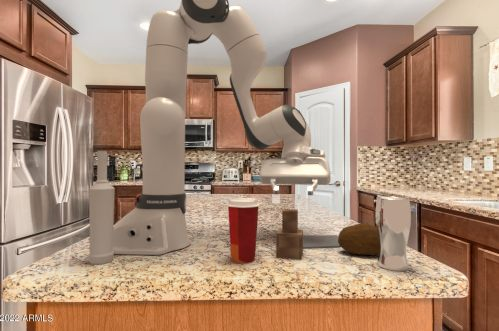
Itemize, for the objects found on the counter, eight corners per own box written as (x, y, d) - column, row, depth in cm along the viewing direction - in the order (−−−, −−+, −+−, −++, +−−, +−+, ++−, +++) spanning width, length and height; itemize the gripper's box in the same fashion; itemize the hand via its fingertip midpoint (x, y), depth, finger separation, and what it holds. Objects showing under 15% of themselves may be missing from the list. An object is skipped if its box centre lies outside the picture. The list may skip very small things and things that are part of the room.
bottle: (94, 257, 69) (95, 151, 69) (117, 257, 69) (118, 151, 69) (84, 265, 63) (85, 150, 64) (109, 264, 64) (110, 150, 64)
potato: (335, 248, 78) (335, 219, 78) (383, 250, 77) (383, 220, 77) (341, 257, 70) (341, 225, 70) (395, 259, 69) (395, 227, 69)
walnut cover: (276, 257, 70) (276, 211, 70) (279, 250, 75) (279, 208, 76) (301, 259, 68) (301, 212, 68) (303, 252, 74) (303, 209, 74)
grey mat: (299, 248, 77) (299, 247, 77) (286, 237, 89) (286, 236, 89) (355, 246, 80) (355, 245, 80) (336, 236, 92) (336, 235, 92)
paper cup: (263, 256, 70) (263, 198, 71) (253, 266, 63) (253, 202, 63) (233, 253, 73) (233, 197, 73) (220, 262, 66) (220, 200, 66)
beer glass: (417, 272, 60) (417, 199, 60) (383, 271, 61) (383, 199, 61) (400, 261, 67) (400, 196, 67) (370, 261, 67) (370, 196, 68)
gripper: (261, 151, 90) (254, 185, 80) (330, 150, 85) (331, 186, 75) (263, 166, 94) (257, 199, 85) (329, 166, 89) (330, 201, 80)
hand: (292, 193), depth 80 cm, fingers open, 8 cm apart
